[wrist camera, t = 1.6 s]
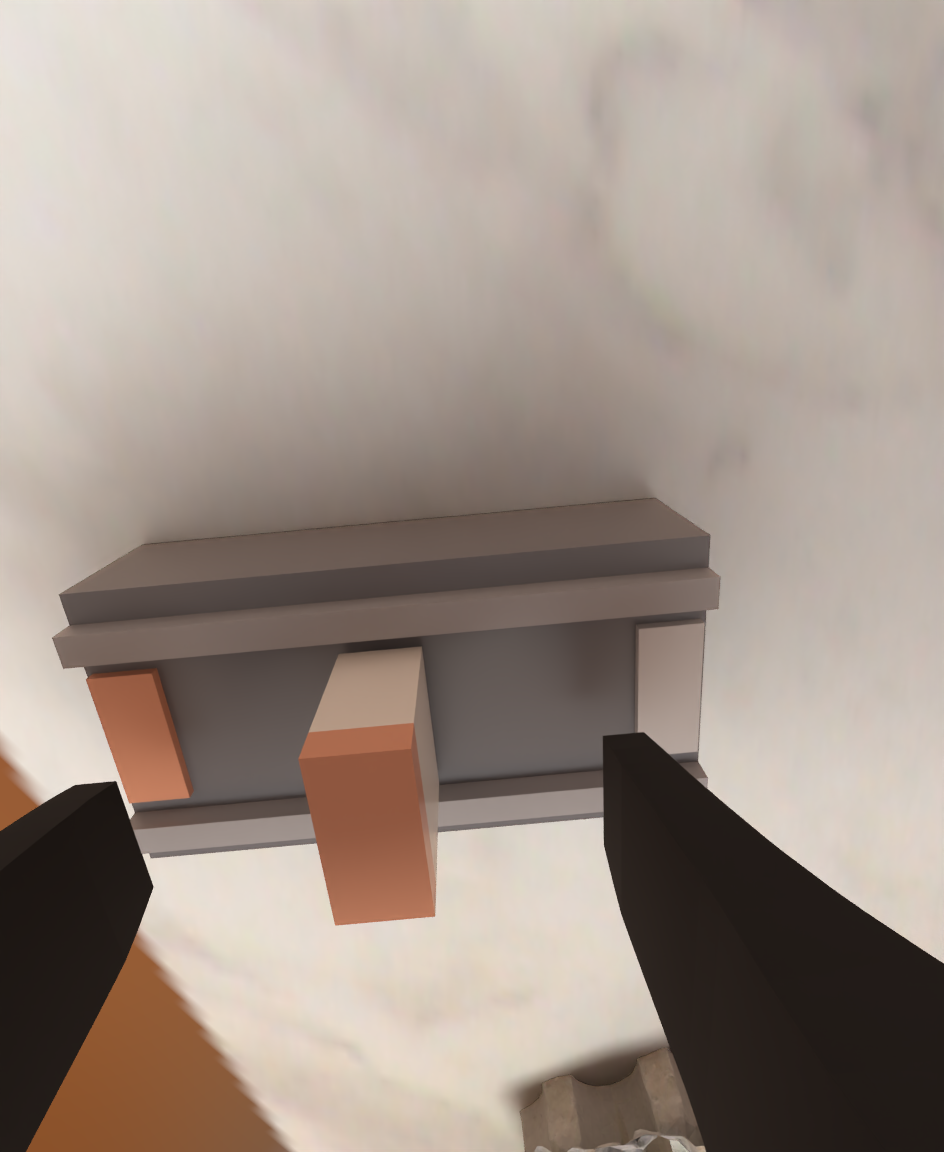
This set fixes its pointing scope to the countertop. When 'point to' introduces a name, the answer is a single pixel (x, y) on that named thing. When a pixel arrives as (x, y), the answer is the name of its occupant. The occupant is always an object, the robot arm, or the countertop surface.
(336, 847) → the breaker handle
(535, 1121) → the egg carton
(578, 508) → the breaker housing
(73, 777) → the countertop surface
